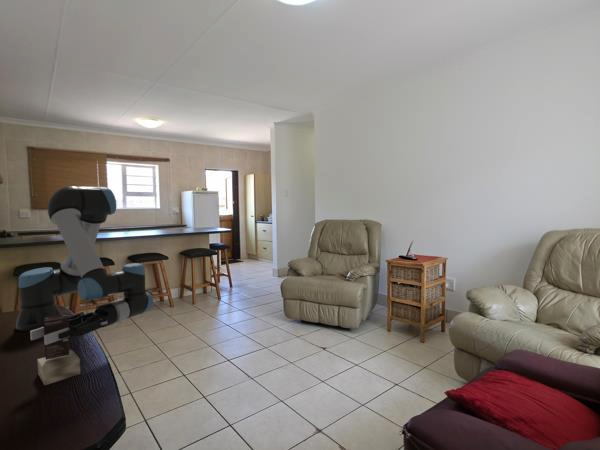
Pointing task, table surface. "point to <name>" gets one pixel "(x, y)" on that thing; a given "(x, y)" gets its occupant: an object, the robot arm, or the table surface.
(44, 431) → the table surface
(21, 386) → the table surface
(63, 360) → the ash block
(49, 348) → the box
